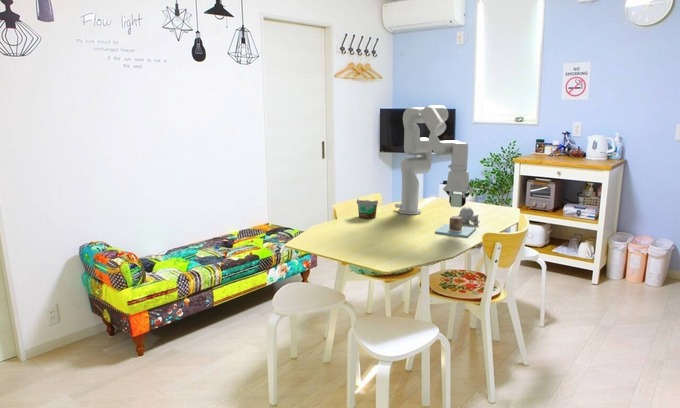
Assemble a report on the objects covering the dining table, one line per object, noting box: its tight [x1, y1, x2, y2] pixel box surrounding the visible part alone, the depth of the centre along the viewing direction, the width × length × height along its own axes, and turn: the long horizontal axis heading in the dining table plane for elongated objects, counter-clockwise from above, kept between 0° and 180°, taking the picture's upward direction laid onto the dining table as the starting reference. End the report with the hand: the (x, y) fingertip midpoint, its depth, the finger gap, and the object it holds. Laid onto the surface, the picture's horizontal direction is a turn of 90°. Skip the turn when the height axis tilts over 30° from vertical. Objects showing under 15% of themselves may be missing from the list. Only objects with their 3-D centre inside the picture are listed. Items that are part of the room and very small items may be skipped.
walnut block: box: [448, 215, 463, 231], centre depth 248 cm, size 5×5×6 cm
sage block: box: [450, 192, 463, 208], centre depth 245 cm, size 5×5×6 cm
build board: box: [434, 223, 477, 239], centre depth 249 cm, size 16×16×1 cm
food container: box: [356, 198, 379, 220], centre depth 274 cm, size 12×6×10 cm, turn 68°
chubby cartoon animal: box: [457, 206, 480, 226], centre depth 263 cm, size 7×12×8 cm, turn 43°
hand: (457, 204), depth 246 cm, fingers closed on sage block, 5 cm apart
